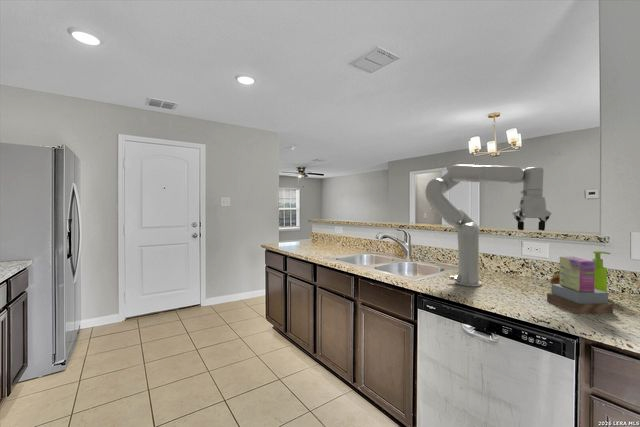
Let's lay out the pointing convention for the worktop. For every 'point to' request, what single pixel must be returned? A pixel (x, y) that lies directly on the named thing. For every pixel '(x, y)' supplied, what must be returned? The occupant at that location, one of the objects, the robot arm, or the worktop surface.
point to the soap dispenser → (600, 272)
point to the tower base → (580, 305)
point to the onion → (556, 278)
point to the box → (577, 274)
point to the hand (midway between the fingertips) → (531, 230)
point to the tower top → (580, 295)
